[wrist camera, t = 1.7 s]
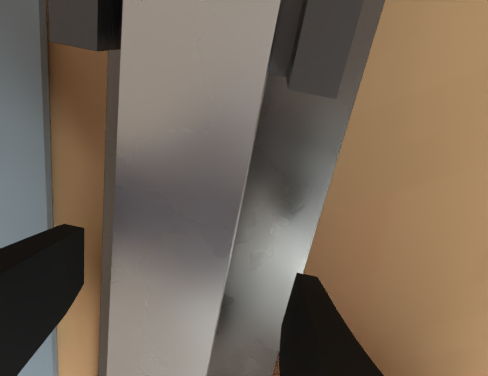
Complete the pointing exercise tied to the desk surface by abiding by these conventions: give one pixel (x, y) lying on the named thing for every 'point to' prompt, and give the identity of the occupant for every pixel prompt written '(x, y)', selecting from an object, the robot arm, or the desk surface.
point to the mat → (26, 140)
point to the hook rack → (255, 161)
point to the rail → (181, 173)
